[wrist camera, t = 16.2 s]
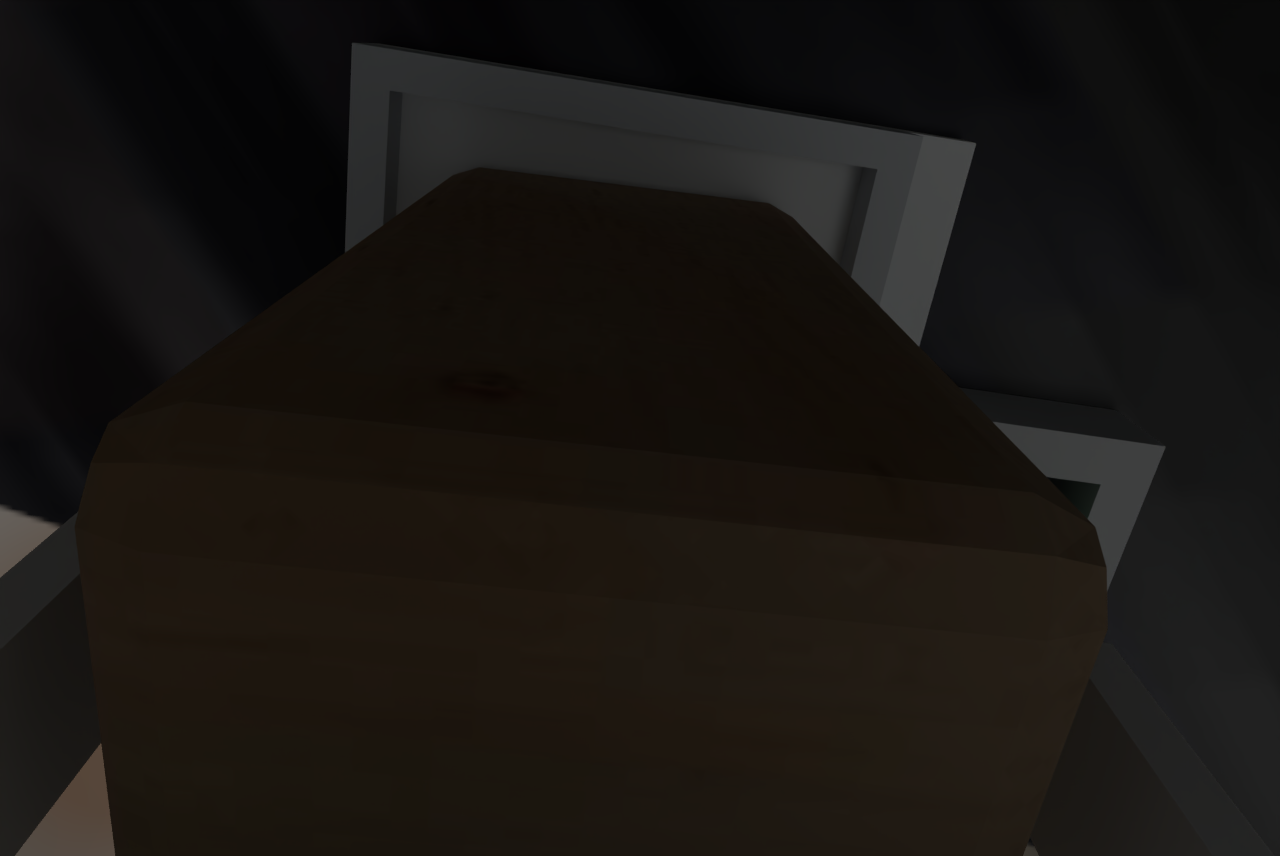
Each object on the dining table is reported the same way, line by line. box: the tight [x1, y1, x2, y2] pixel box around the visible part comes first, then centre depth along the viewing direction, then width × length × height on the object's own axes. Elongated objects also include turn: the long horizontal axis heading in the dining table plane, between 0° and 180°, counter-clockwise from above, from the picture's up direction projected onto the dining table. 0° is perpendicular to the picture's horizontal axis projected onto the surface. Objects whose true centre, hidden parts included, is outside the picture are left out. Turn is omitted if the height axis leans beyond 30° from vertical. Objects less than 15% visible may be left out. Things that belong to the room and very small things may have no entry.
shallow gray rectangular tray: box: [345, 43, 976, 346], centre depth 28 cm, size 15×17×3 cm
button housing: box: [959, 387, 1166, 590], centre depth 30 cm, size 8×8×3 cm
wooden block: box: [75, 167, 1107, 856], centre depth 19 cm, size 10×10×20 cm
